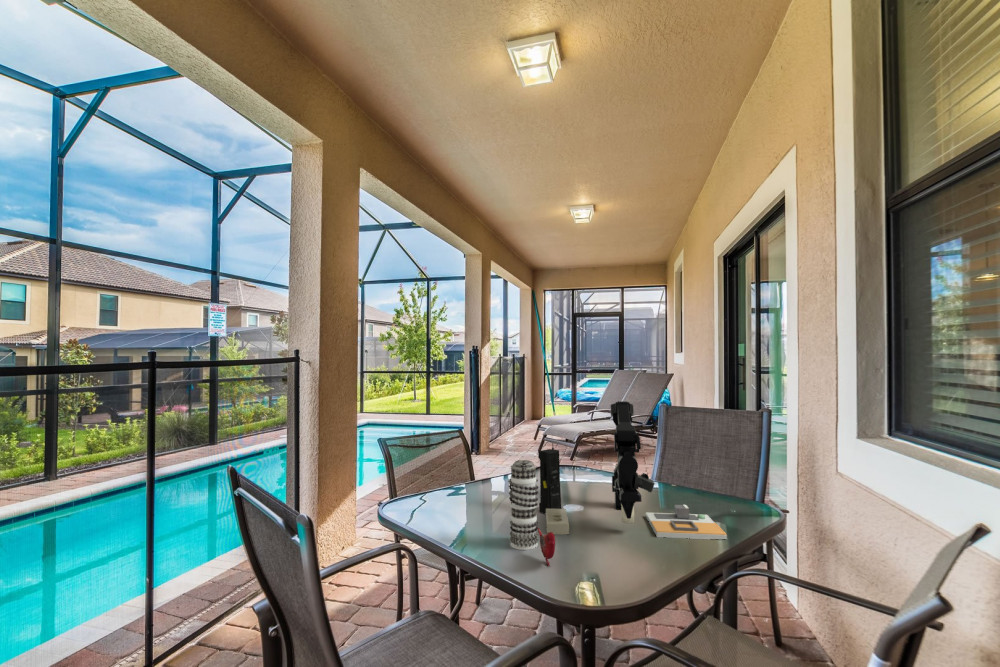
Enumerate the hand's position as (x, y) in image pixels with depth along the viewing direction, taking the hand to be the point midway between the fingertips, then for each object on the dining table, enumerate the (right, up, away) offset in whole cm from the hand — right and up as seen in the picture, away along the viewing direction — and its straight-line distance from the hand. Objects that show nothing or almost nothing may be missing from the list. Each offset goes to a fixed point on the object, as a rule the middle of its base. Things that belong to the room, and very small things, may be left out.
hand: (627, 516), depth 150 cm
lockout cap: (0, -2, 0) cm, 2 cm away
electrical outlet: (-22, -7, +7) cm, 24 cm away
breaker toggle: (+22, -4, +10) cm, 24 cm away
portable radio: (-23, -7, +21) cm, 32 cm away
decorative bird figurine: (-29, -4, -21) cm, 36 cm away
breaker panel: (+20, -6, +4) cm, 21 cm away
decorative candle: (-35, -5, -10) cm, 36 cm away
